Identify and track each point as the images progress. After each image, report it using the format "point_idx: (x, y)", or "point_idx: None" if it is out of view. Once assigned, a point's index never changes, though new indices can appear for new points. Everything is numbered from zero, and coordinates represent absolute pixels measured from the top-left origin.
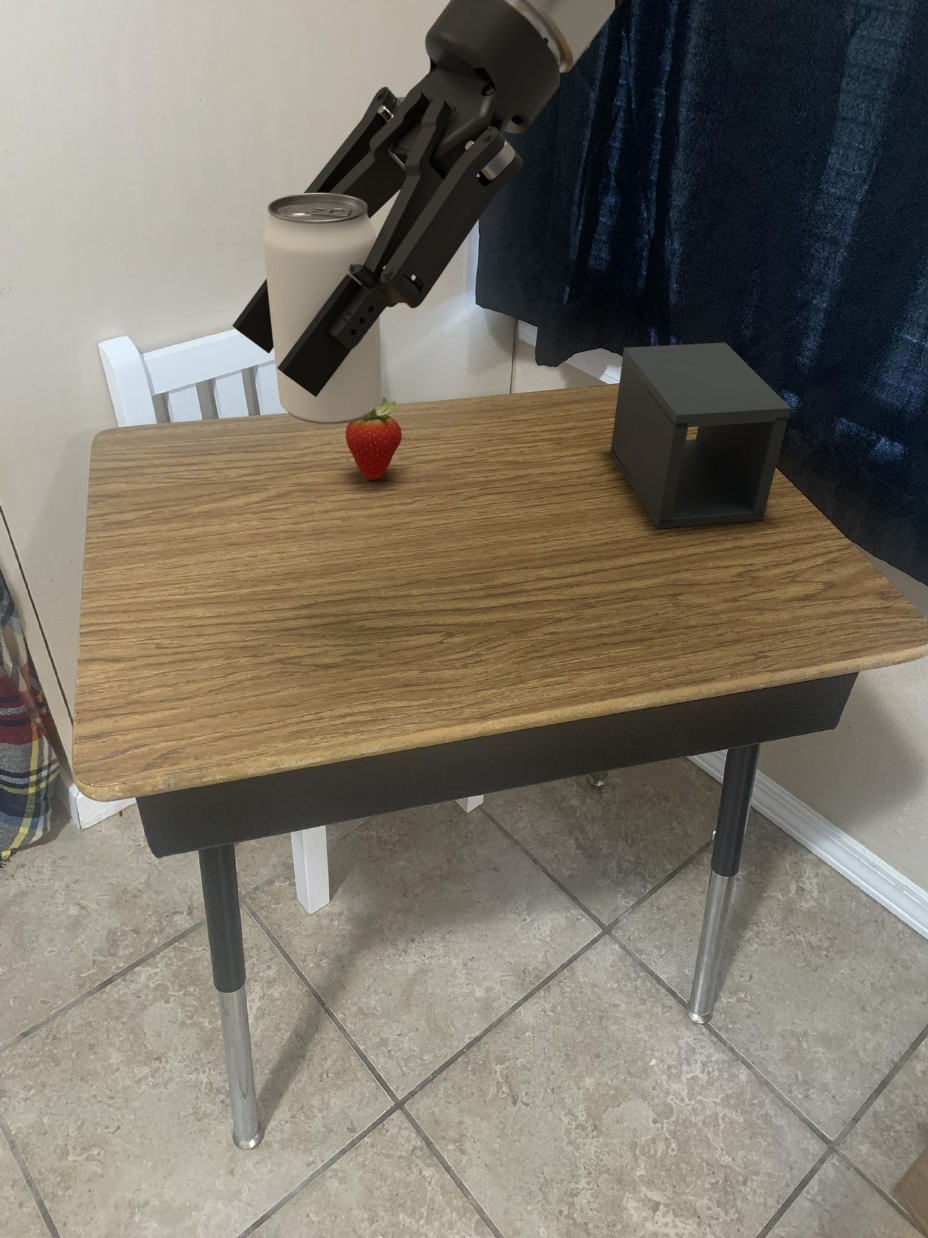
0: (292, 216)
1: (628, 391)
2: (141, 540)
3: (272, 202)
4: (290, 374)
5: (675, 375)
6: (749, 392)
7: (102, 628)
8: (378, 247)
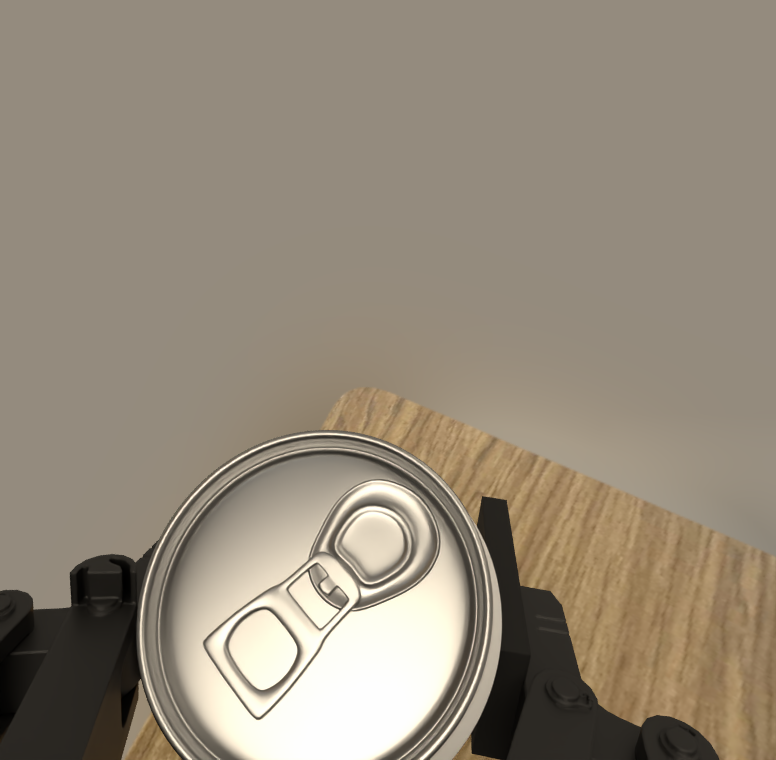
0: (333, 497)
1: None
2: (683, 569)
3: (442, 488)
4: None
5: None
6: None
7: (536, 465)
8: (80, 666)
